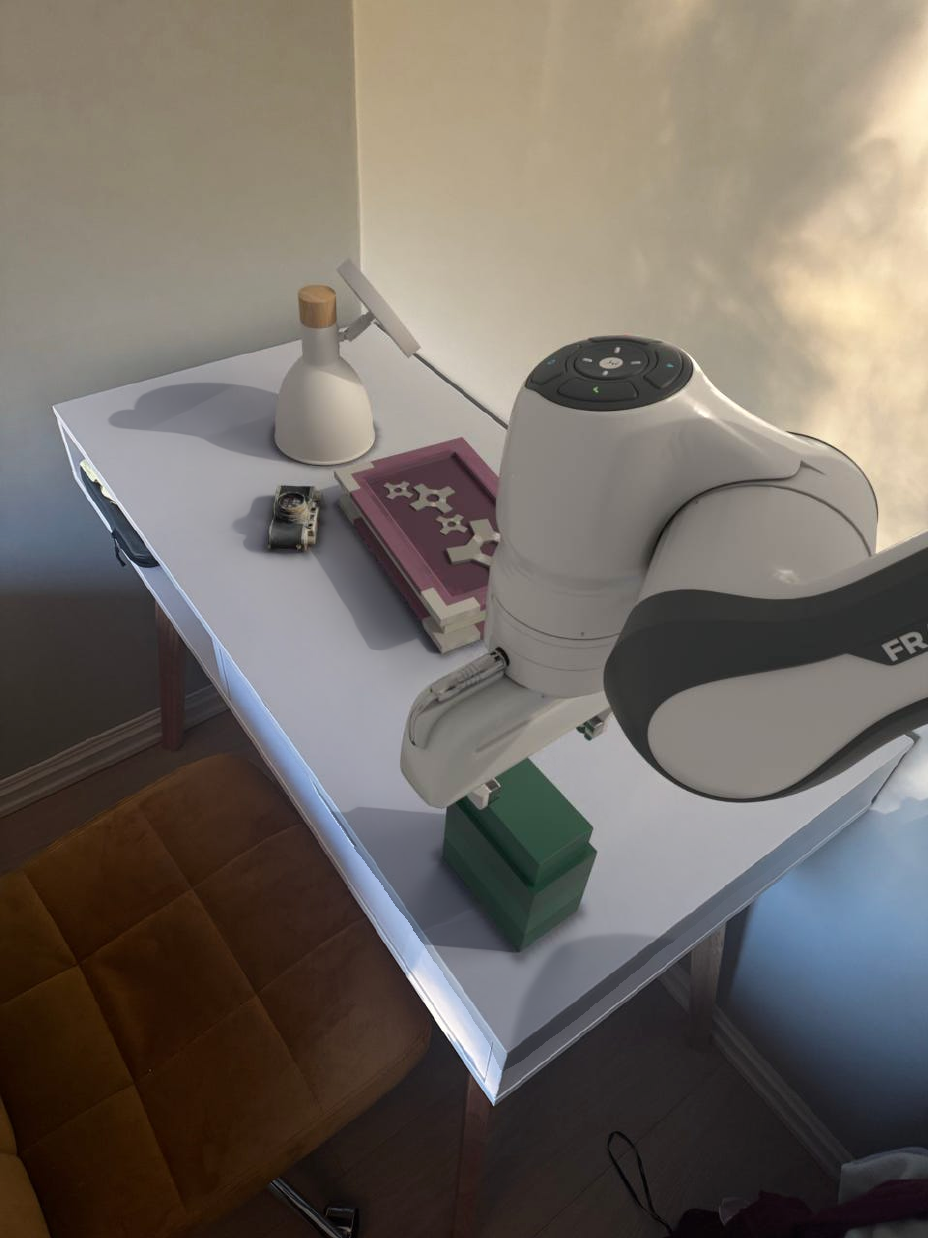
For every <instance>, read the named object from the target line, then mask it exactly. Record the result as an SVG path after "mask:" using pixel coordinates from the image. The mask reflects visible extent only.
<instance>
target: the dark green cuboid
mask: <svg viewBox="0 0 928 1238" xmlns="http://www.w3.org/2000/svg"><path fill="white" fill-rule="evenodd" d="M494 779H495V780H496V781H497V782H498V783H499V784H500V786H501V788H500V793H499V794H498V795H499V799H497V800H496V801H494V802H493V803H491V804H490V805H488V806H486V807H485V808H483V809H482V810H479V809H478V808H477V807H476V806H475V805H474V804H473V803H472V801H471V800H470V799H469V798H468V797H467V795H466V796H464V797H463V798H461V799H460V800H461V801H462V802H463V803H464V804H465V806H466V807H467V808H468V809H469V810H470V811H471V813H472V814H473V815H474V816H475V817H476V819H477V820H478V821H479V822H480V823H481V824H482V826H483V827H484V828H485V829H486V830H487V832H488V833H489V834H490V835H491V836H492V837H493V839H494V840H495V841H496V842H497V843H498V845H499V846H500V847H501V848H502V849H503V850H504V852H505V853H506V854H507V855H508V856H509V858H510V859H511V860H512V861H513V862H514V863H515V865H516V866H517V867H518V868H519V869H520V871H521V872H522V873H523V874H524V875H525V876H526V878H527V879H528V880H529V881H530V882H531V883H532V885H533V886H535V885H537V884H538V883H540V882H541V881H542V880H544V879H545V878H547V877H548V876H550V875H551V874H552V873H554V872H555V871H557V870H558V869H560V868H561V867H562V866H564V865H565V864H567V863H568V862H570V861H571V860H573V859H574V858H575V857H577V856H578V855H580V854H581V853H583V852H584V851H585V850H587V847H588V844H589V843H590V841H591V837H592V834H593V831H594V826H593V825H592V824H591V823H590V822H589V821H588V820H587V818H585V817H584V815H583V814H582V813H581V812H580V811H579V810H578V809H577V808H576V807H575V806H574V805H573V804H572V803H571V802H570V800H569V799H568V798H567V797H566V796H565V795H564V793H562V792H561V791H560V790H559V788H557V786H555V784H554V783H553V782H552V781H551V780H550V779H549V778H548V777H547V776H546V775H545V774H544V773H543V772H542V771H541V770H540V768H539V767H538V766H536V764H535V763H534V762H533V761H532V760H531V759H530V757H528V758H526V759H524V760H523V761H521V762H520V763H518V764H516V765H515V766H513V767H511V768H510V769H508V770H507V771H505V772H503V773H502V774H500V775H498V776H497V777H495V778H494Z"/></svg>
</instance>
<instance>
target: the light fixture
mask: <svg viewBox="0 0 928 1238" xmlns="http://www.w3.org/2000/svg"><path fill="white" fill-rule="evenodd" d="M335 270H336V272H337V273H338V274H339V277H341V278H342V280H343V281H344V282H345V283H346V285H347V286H348V287H349V289H350V290H351V292H353V293H354V295H355V297H356V298H358V300H359V301H360V302H361V303H362V305H363V306H364V307H365V308H366V309H367V312H366V313H362V315H360V316H359V317H358V318H357V319H355V321H354V322H352V323H351V324H350V325H349V326H347V328H346V329H345V330H344V331H340V326H339V324H338V318H337V317H338V316H337V292H336V291H335V290H334V289H333V288H332V287H329V286H327V285H324V284H323V285H322V284H310V285H305V286H303V287H301V288H300V289H299V290H298V291H297V301H298V315H299V321H300V322H299V323H300V336H301V337H300V340H301V351H302V353H301V354H302V355H301V356H299V358H298V359H297V360H296V361H295V362H294V363H293V364H292V366H291V367H290V368H289V369H288V371H287V372H286V374H285V377H284V378H283V380H282V383H281V386H280V388H279V391H278V395H277V400H276V403H275V418H274V421H275V422H274V424H275V425H274V427H275V431H274V442H275V445H276V446H277V447H278V449H279V450H280V451H281V453H283V454H284V455H285V456H287V457H289V458H290V459H292V460H295V461H297V462H300V463H303V464H307V465H314V466H333V465H335V466H336V465H340V464H345V463H349V462H352V461H354V460H356V459H358V458H360V457H362V456H363V455H365V454H366V453H368V451H369V450H371V448H372V446H373V445H374V443H375V439H376V432H375V428H374V419H373V412H372V406H371V403H370V398H369V396H368V393H367V390H366V388H365V386H364V383H363V381H362V379H361V378H360V376H359V375H358V374H357V372H356V370H355V368H354V367H353V366H352V365H350V363H349V362H348V361H347V360H346V359H345V358H344V357H343V356H341V352H340V349H341V345H340V343H343V342H345V341H348V342H349V343H352V342H353V341H354V340H355V339H357V338H358V337H359V336H360V335H361V334H362V333H364V331H366V330H367V329H368V328H369V327H370V326H371V325H372V322H373V321H374V320H375V321H376V322H377V323H378V325H379V326H380V327H381V328H382V329H383V331H384V332H385V333H386V334H387V336H389V338H390V339H391V340H392V341H393V342H394V344H395V345H396V347H398V348H399V350H400V351H401V352H402V354H403V355H404V356H405V357H406V358H407V359H410V358H411V357H412V356H414V355H415V353H417V352H418V351H419V350H420V349H421V345H420V344H419V342H418V340H417V339H416V338H415V337H414V335H413V334H412V332H410V330H409V328H407V326H406V325H405V323H404V322H403V321H402V320H401V319H400V317H399V316H398V314H397V313H396V312H395V311H394V310H393V309H392V307H391V306H390V304H388V302H387V301H386V300H385V298H384V297H383V296H382V295H381V294H380V292H379V291H378V290H377V288H376V287H375V286H374V285H373V283H371V281H370V280H369V279H368V278H367V276H366V275H365V274H364V273H363V271H361V269H360V268H359V267H358V266H357V265H356V263H354V262H353V260H352V259H351V258H349V257H347V259H346V260H345V261H344V262H342V263H341V264H340V265H339V266H338V267H336V269H335Z"/></svg>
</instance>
